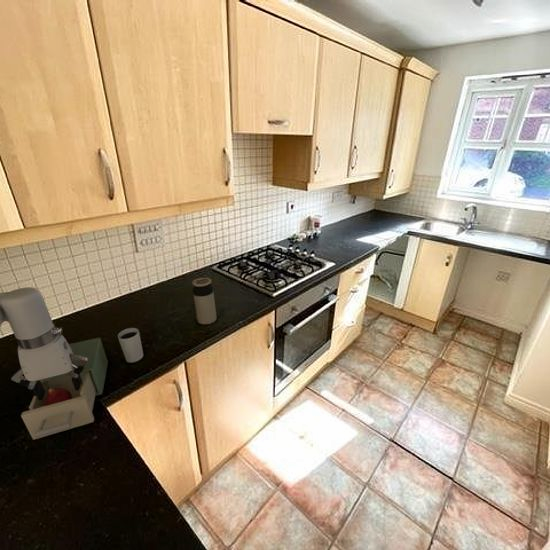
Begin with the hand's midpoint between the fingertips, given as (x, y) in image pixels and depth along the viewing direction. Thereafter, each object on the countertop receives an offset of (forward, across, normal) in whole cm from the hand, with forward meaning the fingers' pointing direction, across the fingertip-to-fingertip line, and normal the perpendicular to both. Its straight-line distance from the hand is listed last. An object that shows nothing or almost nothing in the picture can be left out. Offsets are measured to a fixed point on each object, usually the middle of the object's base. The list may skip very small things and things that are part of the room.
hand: (60, 391), depth 80 cm
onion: (+7, 0, 0) cm, 7 cm away
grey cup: (+9, -16, -20) cm, 27 cm away
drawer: (+8, 0, +1) cm, 8 cm away
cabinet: (+9, 0, -13) cm, 16 cm away
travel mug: (+9, -44, -34) cm, 56 cm away
